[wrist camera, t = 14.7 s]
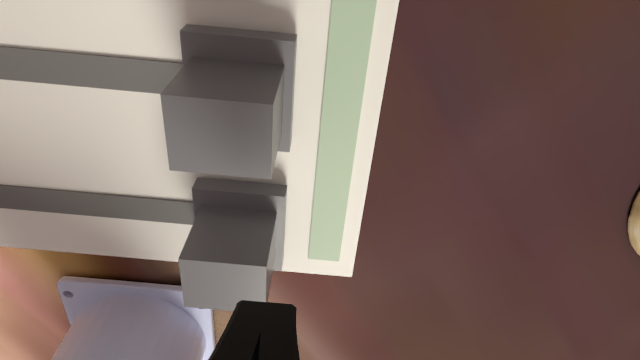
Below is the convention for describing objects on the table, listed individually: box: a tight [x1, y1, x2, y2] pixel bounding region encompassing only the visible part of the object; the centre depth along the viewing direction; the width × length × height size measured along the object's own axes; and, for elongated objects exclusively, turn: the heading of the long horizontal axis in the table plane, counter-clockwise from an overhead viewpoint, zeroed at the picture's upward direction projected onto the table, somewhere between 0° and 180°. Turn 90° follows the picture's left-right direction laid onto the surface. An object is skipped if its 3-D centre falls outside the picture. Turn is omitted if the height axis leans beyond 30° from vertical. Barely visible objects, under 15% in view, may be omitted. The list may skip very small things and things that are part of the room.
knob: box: [178, 177, 287, 311], centre depth 18 cm, size 4×4×4 cm
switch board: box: [0, 0, 399, 277], centre depth 17 cm, size 18×26×2 cm
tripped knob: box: [160, 24, 297, 179], centre depth 14 cm, size 4×4×4 cm
